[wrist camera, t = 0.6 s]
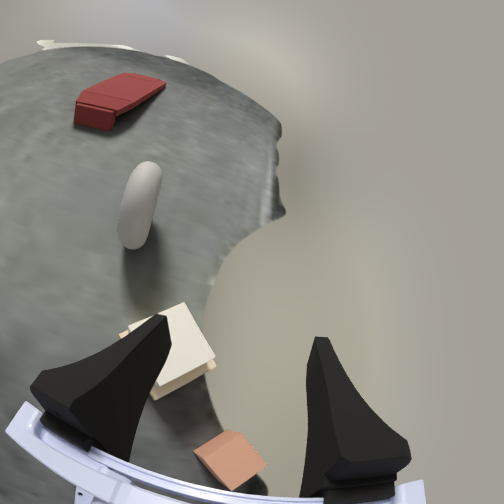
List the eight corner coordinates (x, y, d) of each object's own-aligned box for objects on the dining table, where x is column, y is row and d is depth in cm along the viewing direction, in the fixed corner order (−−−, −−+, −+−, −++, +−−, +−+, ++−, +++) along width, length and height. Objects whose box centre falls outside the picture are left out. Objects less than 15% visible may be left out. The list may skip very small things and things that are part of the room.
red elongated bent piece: (121, 88, 54) (65, 121, 36) (126, 71, 50) (68, 97, 33) (162, 98, 57) (117, 134, 39) (168, 81, 54) (122, 109, 36)
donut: (142, 268, 30) (149, 214, 22) (114, 262, 28) (112, 206, 21) (157, 205, 35) (171, 147, 28) (134, 199, 34) (142, 141, 26)
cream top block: (206, 362, 24) (215, 356, 22) (156, 388, 21) (159, 386, 19) (178, 313, 26) (184, 302, 23) (128, 334, 23) (127, 325, 20)
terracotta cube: (249, 458, 23) (267, 464, 19) (217, 480, 20) (231, 490, 17) (226, 429, 24) (241, 433, 20) (192, 450, 21) (202, 458, 18)
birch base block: (208, 370, 27) (216, 366, 25) (153, 400, 23) (155, 400, 20) (175, 316, 29) (180, 306, 26) (120, 341, 25) (118, 334, 22)
